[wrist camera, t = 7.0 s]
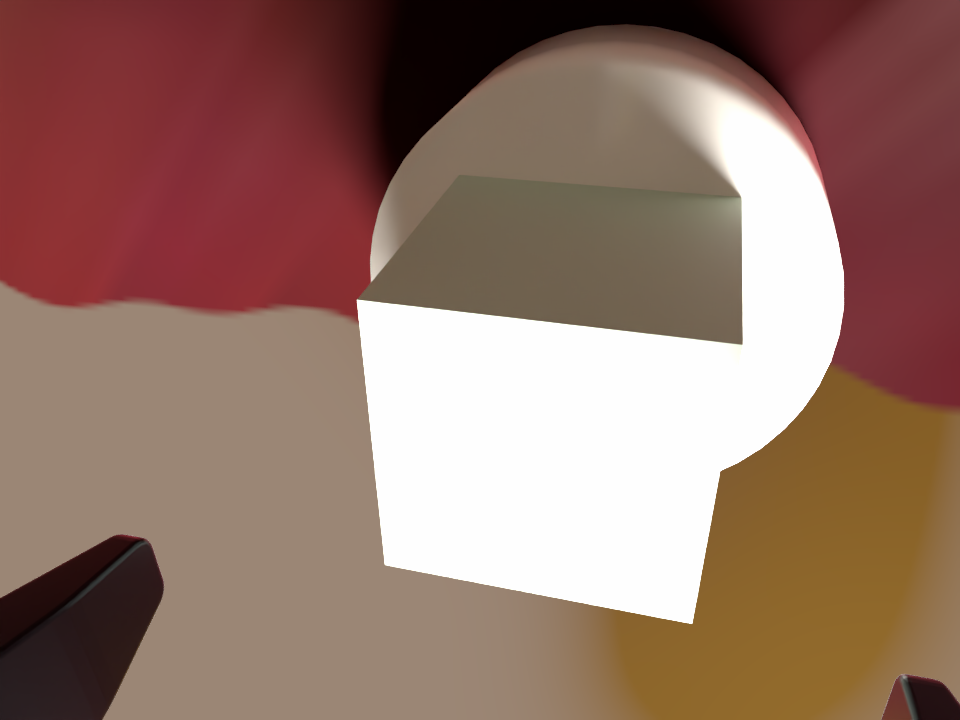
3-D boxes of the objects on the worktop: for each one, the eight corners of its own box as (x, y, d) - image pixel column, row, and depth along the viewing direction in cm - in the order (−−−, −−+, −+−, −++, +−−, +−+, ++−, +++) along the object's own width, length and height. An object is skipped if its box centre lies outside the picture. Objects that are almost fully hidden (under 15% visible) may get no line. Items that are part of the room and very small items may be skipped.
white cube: (742, 196, 14) (742, 345, 10) (703, 431, 17) (692, 623, 13) (459, 174, 15) (356, 299, 11) (465, 397, 18) (384, 565, 14)
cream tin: (866, 26, 16) (899, 75, 12) (787, 411, 20) (795, 520, 17) (418, 18, 18) (346, 59, 15) (440, 369, 23) (390, 459, 19)
